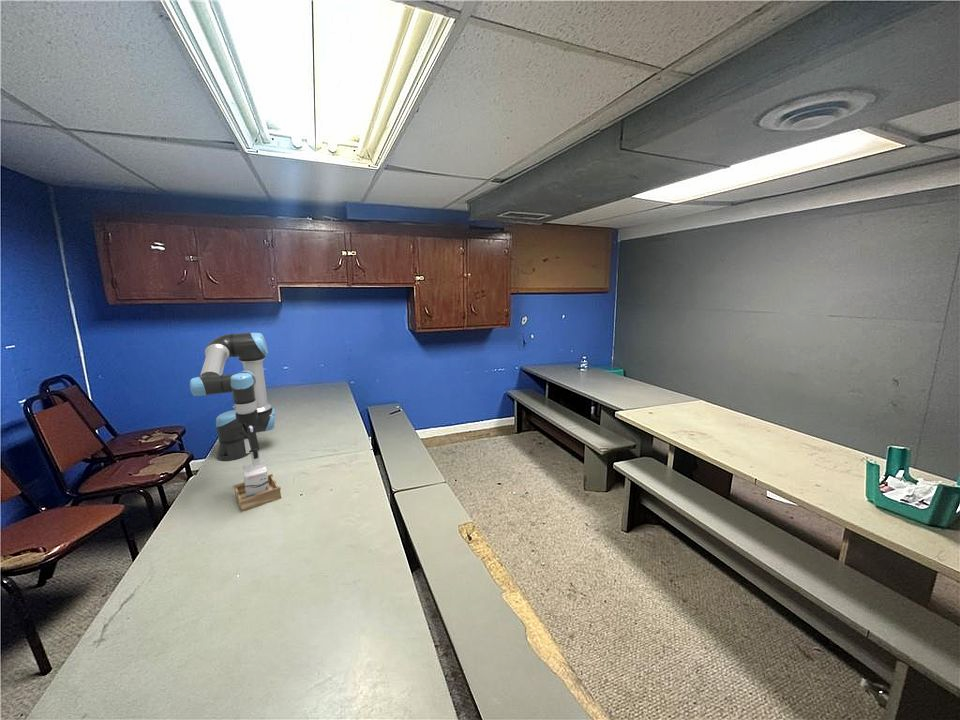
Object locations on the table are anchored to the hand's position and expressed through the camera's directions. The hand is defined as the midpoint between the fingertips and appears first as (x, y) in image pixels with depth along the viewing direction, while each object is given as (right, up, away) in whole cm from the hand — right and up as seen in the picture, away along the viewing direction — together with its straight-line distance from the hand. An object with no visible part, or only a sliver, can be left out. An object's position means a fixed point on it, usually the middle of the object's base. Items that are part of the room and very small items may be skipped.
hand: (253, 458), depth 154 cm
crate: (0, -18, +4) cm, 18 cm away
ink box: (0, -17, +3) cm, 18 cm away
